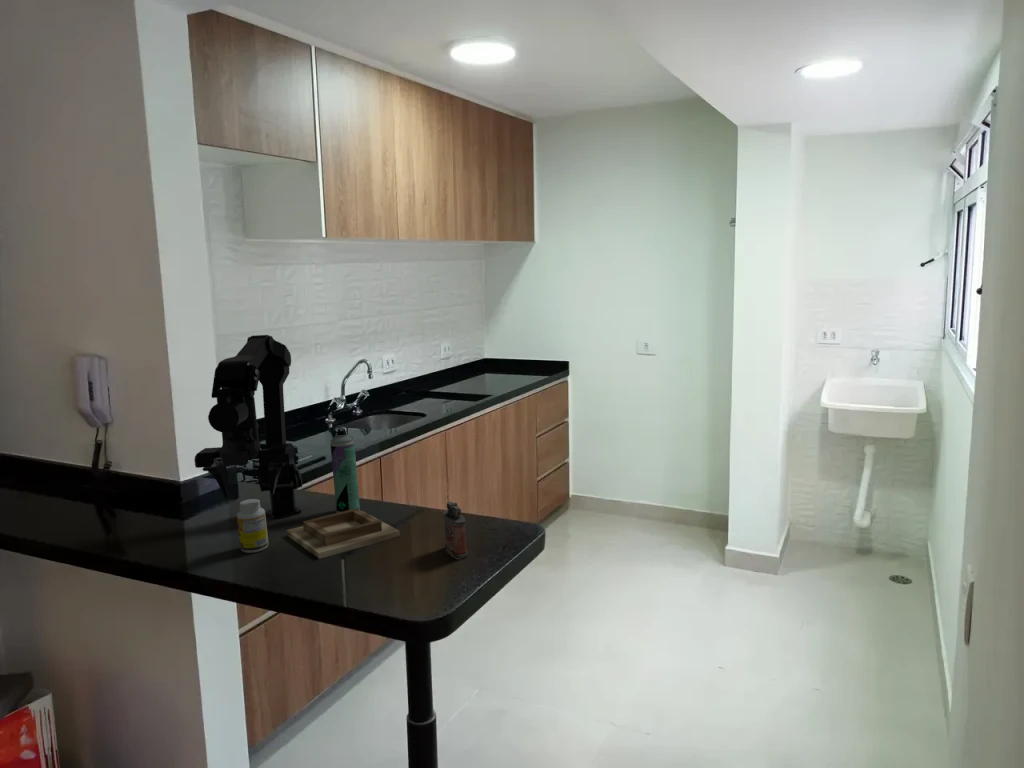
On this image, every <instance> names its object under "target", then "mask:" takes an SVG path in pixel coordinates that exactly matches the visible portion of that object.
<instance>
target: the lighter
mask: <svg viewBox="0 0 1024 768" xmlns="http://www.w3.org/2000/svg"><path fill="white" fill-rule="evenodd" d="M446 509H447V510H445V511H443V512H442V518H443V523H444V536H445V537H444V538H445V543H444V549H445V548H446V550H447V552H448V553H450V554H451V555H453V556H454V557H456V558H461V557H465V556H467V555H468V550H467V541H466V540H467V539H466V526H465V525H466V519H465V517H464V515H463V514H462V509H461V508H460V507H459V506H458V503H457V502H452V501H447V502H446ZM446 550H445V551H446ZM447 552H446V553H447ZM448 553H447V554H448Z"/></svg>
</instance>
